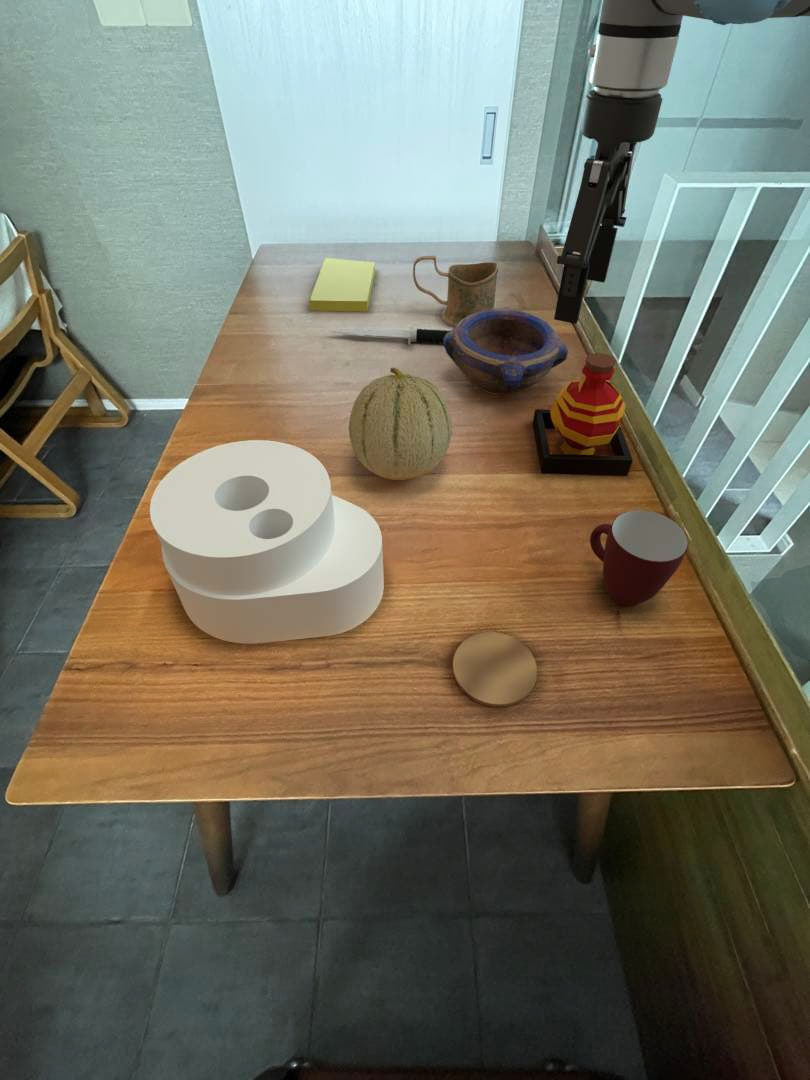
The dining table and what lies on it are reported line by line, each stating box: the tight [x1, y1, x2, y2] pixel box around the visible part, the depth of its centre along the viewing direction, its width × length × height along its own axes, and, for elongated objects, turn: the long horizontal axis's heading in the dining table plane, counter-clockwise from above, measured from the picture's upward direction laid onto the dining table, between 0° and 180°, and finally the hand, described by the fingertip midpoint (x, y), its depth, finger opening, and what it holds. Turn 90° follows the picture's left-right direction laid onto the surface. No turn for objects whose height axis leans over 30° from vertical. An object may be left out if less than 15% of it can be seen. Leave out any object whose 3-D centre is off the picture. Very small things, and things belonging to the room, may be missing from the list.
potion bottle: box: [550, 352, 627, 455], centre depth 85 cm, size 10×10×15 cm
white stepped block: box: [149, 439, 385, 645], centre depth 67 cm, size 20×25×14 cm
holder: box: [532, 408, 633, 477], centre depth 89 cm, size 13×13×3 cm
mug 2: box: [589, 509, 689, 607], centre depth 67 cm, size 11×8×10 cm
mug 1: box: [412, 255, 499, 328], centre depth 118 cm, size 12×18×12 cm, turn 88°
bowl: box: [443, 306, 569, 395], centre depth 101 cm, size 18×18×10 cm
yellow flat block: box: [309, 257, 376, 312], centre depth 132 cm, size 12×2×24 cm
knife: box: [328, 324, 450, 346], centre depth 115 cm, size 26×2×5 cm
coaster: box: [452, 631, 538, 708], centre depth 63 cm, size 9×9×1 cm
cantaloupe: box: [348, 367, 453, 481], centre depth 82 cm, size 15×15×15 cm
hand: (580, 299), depth 74 cm, fingers open, 13 cm apart
